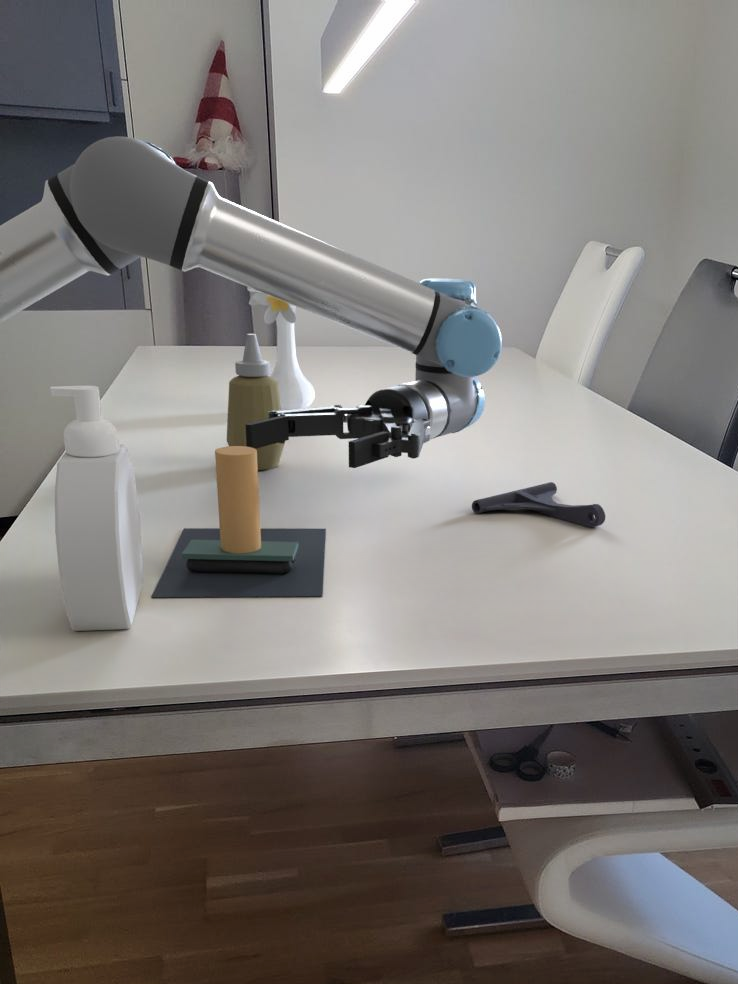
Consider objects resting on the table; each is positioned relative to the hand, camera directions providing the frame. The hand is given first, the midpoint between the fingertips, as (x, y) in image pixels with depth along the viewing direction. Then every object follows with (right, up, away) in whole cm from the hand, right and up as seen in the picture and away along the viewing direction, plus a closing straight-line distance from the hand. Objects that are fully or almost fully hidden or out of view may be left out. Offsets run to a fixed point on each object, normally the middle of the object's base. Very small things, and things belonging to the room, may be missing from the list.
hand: (298, 445), depth 110 cm
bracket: (+29, -5, +19) cm, 34 cm away
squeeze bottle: (-12, +4, +36) cm, 38 cm away
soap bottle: (-15, -18, -15) cm, 28 cm away
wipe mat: (-5, -12, -2) cm, 13 cm away
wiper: (-5, -13, -4) cm, 15 cm away
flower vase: (-14, +19, +71) cm, 74 cm away
